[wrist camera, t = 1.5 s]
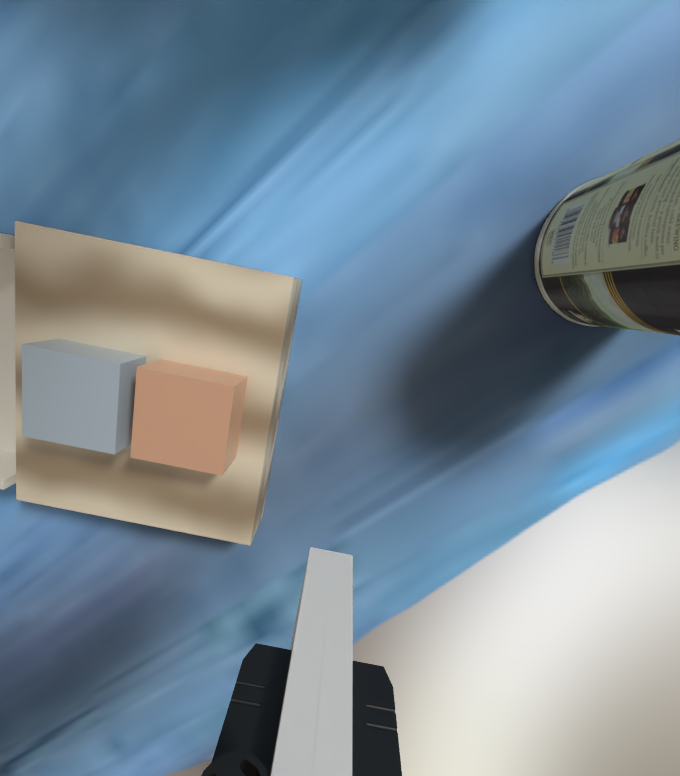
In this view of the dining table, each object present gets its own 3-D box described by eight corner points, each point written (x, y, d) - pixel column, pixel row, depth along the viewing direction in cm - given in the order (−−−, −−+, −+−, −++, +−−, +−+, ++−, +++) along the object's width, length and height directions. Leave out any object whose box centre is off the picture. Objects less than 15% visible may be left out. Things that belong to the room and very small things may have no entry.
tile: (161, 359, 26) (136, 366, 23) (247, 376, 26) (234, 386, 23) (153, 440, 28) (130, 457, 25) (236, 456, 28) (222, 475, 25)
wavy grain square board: (61, 230, 28) (14, 220, 24) (302, 280, 28) (293, 277, 25) (56, 475, 33) (16, 499, 29) (262, 516, 33) (250, 545, 29)
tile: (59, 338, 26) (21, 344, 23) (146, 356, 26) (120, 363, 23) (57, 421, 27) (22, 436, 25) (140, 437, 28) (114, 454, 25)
